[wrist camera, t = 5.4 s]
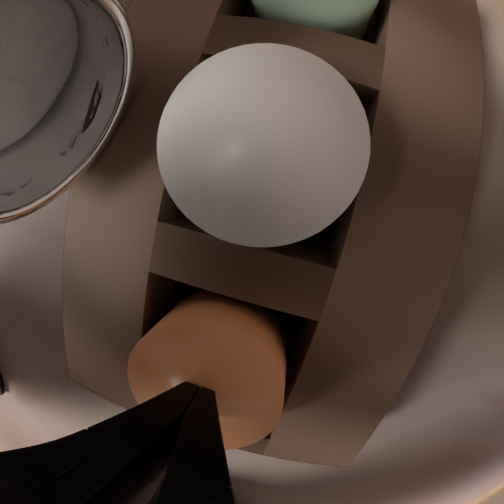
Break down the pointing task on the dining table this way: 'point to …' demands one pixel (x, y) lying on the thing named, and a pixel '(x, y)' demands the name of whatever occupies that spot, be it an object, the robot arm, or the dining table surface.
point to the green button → (320, 14)
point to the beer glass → (58, 94)
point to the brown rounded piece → (217, 361)
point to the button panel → (292, 255)
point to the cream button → (263, 145)
